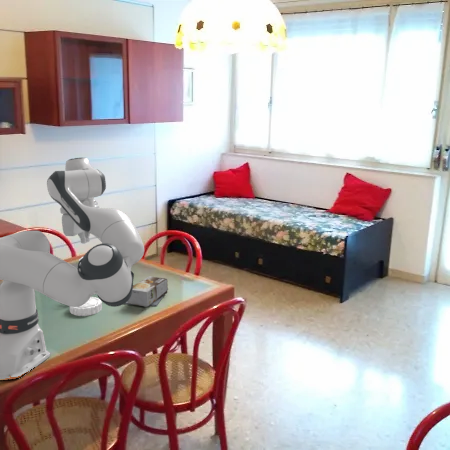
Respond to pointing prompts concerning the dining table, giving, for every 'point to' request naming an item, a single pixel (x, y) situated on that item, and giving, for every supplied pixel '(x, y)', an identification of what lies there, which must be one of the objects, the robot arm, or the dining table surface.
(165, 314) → the dining table surface
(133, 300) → the coffee box
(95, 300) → the mooncake
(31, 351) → the robot arm
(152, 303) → the mat
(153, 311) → the dining table surface
